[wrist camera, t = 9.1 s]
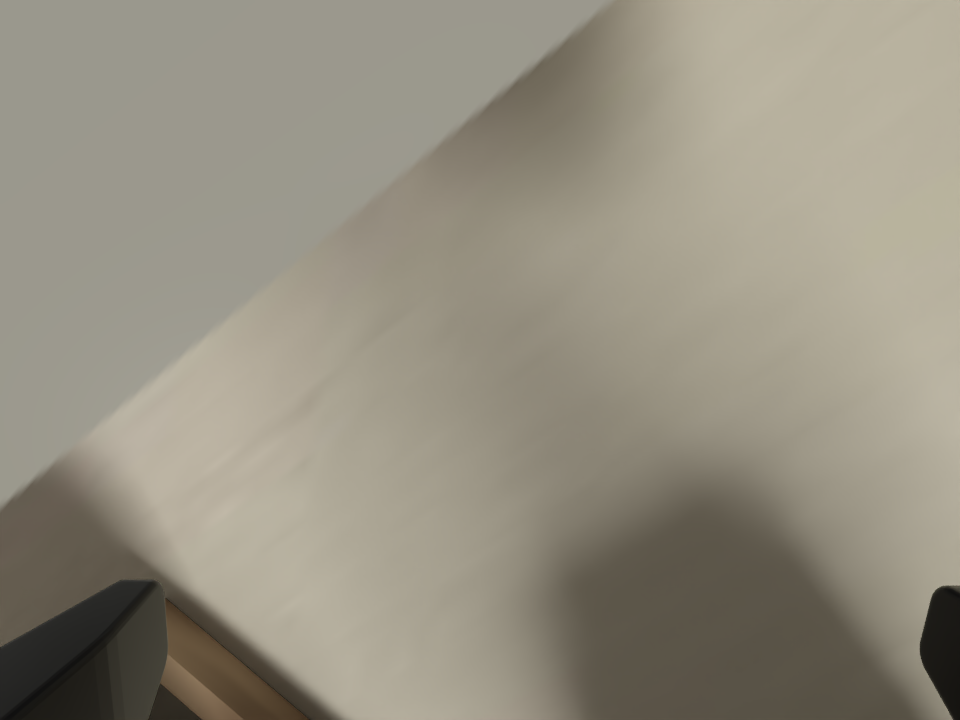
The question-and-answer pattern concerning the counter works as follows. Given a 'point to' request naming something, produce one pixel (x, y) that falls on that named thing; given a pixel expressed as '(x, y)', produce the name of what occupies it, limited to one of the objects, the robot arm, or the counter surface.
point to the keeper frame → (216, 677)
